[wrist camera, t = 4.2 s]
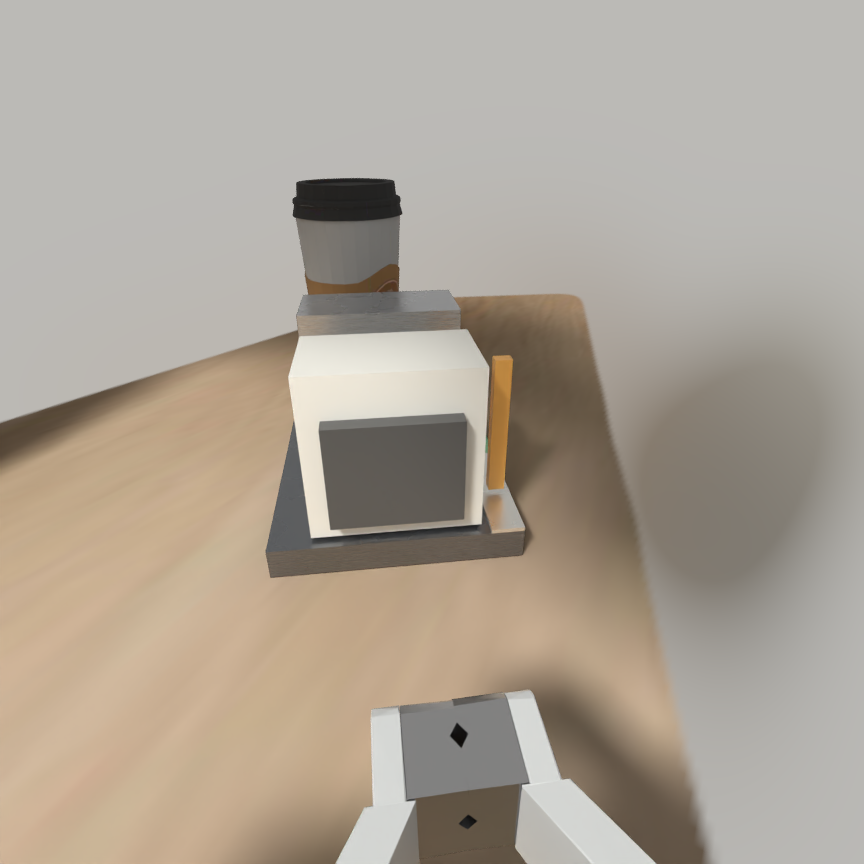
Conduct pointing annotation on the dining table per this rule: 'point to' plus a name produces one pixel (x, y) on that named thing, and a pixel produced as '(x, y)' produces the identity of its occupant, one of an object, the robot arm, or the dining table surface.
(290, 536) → the base
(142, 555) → the dining table surface
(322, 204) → the coffee cup
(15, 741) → the dining table surface
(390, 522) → the cream rectangular block
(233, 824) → the dining table surface
